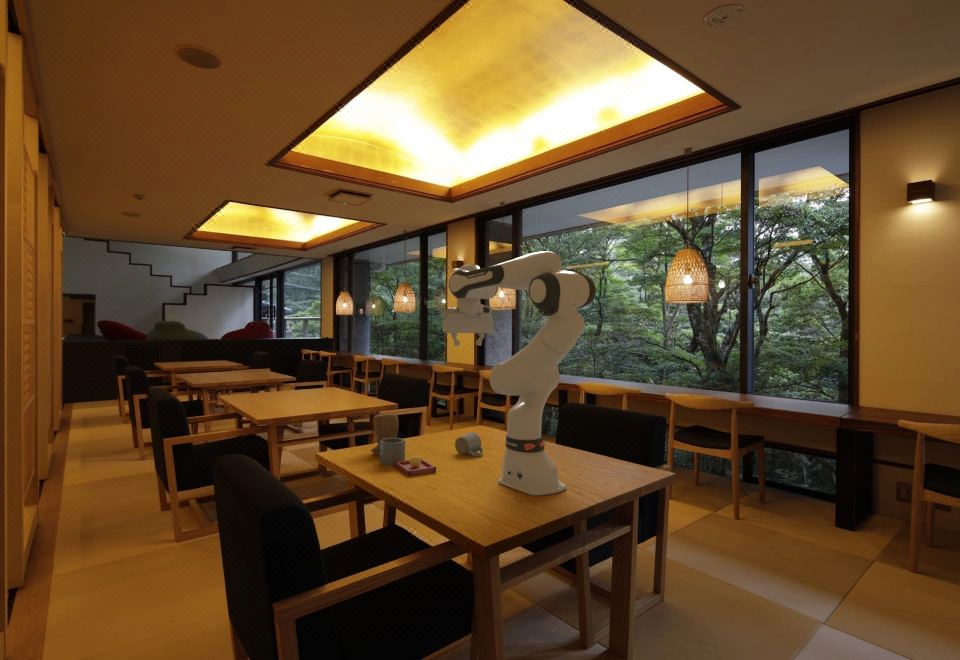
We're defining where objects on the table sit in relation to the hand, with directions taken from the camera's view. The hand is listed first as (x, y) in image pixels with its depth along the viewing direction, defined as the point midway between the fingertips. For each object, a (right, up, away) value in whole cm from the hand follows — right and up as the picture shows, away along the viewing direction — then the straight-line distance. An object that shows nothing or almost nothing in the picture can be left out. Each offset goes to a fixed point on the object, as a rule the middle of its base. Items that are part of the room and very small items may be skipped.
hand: (467, 345), depth 182 cm
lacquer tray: (-18, -43, -14) cm, 48 cm away
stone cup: (-32, -42, +8) cm, 54 cm away
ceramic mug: (+1, -43, +7) cm, 43 cm away
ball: (-18, -40, -14) cm, 46 cm away
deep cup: (-27, -42, -6) cm, 51 cm away
